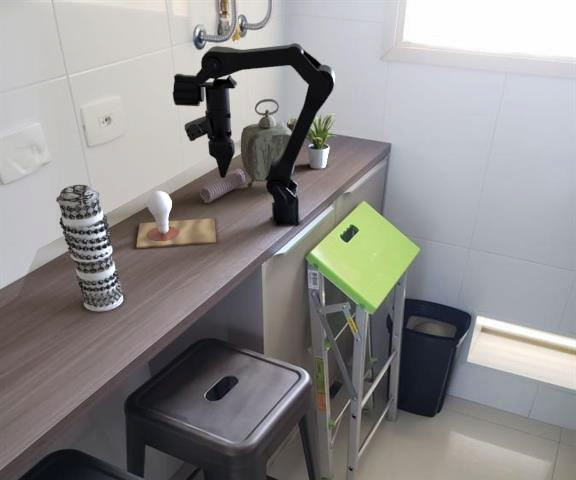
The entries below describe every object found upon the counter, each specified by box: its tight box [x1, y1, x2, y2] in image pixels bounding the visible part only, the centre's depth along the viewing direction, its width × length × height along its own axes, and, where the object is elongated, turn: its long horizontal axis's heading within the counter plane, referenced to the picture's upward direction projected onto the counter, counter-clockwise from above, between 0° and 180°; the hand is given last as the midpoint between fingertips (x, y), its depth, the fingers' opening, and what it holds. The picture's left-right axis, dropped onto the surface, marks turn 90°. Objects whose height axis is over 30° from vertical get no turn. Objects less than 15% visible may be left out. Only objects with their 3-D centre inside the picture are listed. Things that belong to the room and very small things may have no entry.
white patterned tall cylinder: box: [55, 184, 124, 313], centre depth 121 cm, size 9×9×25 cm
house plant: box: [296, 112, 338, 170], centre depth 187 cm, size 14×14×16 cm
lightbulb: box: [146, 190, 173, 234], centre depth 150 cm, size 6×6×11 cm
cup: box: [286, 117, 297, 131], centre depth 206 cm, size 8×7×8 cm
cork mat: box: [135, 217, 217, 249], centre depth 154 cm, size 20×14×1 cm
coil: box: [199, 168, 246, 204], centre depth 174 cm, size 5×5×18 cm
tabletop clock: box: [240, 98, 296, 189], centre depth 169 cm, size 14×9×25 cm, turn 108°
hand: (221, 171), depth 153 cm, fingers open, 9 cm apart
